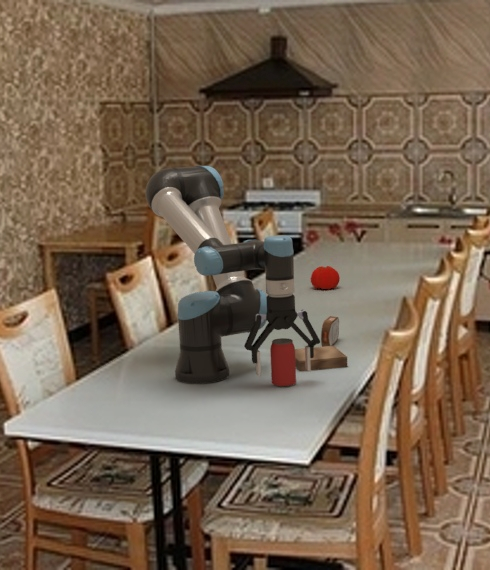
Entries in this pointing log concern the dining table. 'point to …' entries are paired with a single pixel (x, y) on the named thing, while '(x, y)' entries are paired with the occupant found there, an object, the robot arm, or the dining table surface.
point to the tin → (330, 331)
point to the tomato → (325, 278)
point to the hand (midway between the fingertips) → (283, 372)
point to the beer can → (283, 362)
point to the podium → (321, 358)
